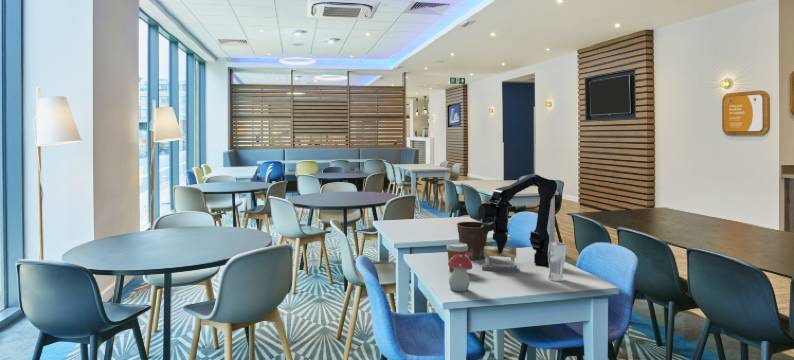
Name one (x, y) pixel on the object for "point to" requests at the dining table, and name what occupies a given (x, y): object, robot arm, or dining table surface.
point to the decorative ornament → (460, 272)
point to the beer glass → (556, 260)
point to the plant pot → (473, 238)
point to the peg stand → (499, 266)
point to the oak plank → (494, 252)
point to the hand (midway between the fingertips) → (500, 252)
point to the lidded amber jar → (456, 250)
